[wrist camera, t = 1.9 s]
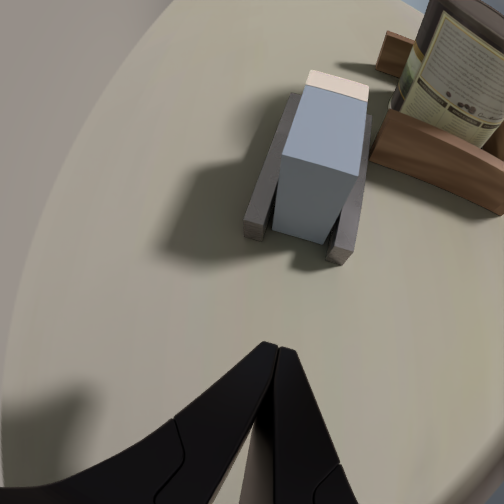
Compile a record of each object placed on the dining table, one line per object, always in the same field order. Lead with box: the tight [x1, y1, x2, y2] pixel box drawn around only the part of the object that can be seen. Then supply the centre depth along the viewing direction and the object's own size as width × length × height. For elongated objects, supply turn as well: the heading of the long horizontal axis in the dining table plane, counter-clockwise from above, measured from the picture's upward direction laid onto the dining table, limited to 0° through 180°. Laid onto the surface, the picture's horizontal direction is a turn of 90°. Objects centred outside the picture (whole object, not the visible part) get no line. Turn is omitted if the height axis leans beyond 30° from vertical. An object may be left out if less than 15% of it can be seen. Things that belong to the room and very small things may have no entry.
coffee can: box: [388, 0, 504, 149], centre depth 18 cm, size 10×10×14 cm
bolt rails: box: [243, 93, 372, 265], centre depth 21 cm, size 12×7×2 cm, turn 163°
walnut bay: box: [369, 31, 504, 216], centre depth 22 cm, size 15×14×5 cm
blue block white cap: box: [272, 70, 369, 245], centre depth 18 cm, size 7×4×8 cm, turn 163°
